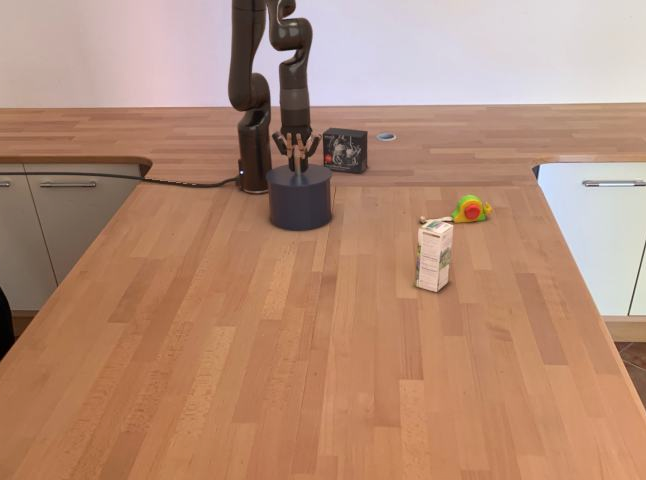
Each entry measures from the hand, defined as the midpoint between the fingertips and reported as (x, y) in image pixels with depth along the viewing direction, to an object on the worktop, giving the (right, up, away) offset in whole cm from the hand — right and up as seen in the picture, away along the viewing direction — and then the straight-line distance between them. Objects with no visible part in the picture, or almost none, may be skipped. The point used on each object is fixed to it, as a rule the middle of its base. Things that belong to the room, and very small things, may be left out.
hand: (298, 170), depth 188 cm
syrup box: (+32, -33, -27) cm, 53 cm away
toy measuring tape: (+42, -13, +3) cm, 44 cm away
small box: (+13, +11, +41) cm, 44 cm away
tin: (0, -11, +7) cm, 13 cm away
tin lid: (0, -1, +1) cm, 1 cm away
